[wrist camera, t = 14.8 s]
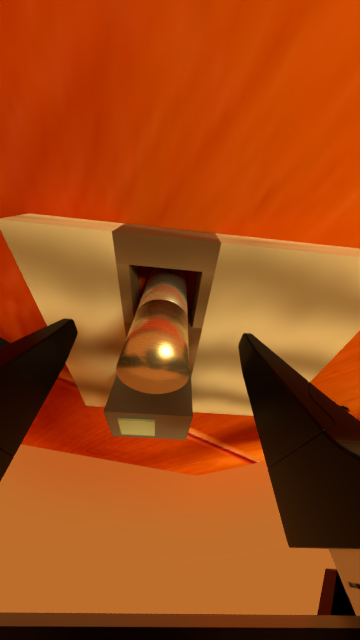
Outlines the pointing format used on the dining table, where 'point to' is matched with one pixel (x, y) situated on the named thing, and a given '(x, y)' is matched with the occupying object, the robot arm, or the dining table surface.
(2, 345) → the wine bottle
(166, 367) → the peg
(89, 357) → the subfloor board
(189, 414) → the block
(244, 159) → the dining table surface
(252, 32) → the dining table surface
